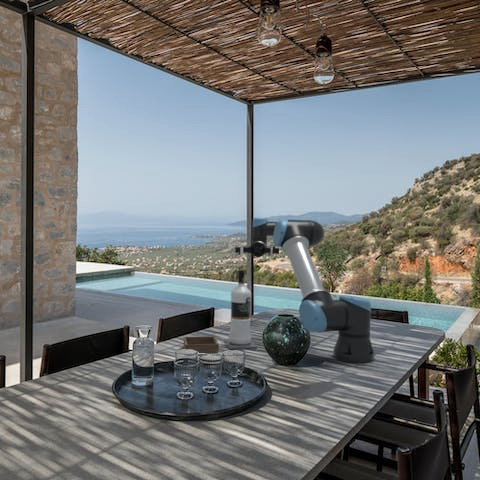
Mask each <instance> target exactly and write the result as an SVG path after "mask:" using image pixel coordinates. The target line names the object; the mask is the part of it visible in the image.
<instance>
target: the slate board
mask: <svg viewBox="0 0 480 480" xmlns="http://www.w3.org/2000/svg"><path fill="white" fill-rule="evenodd" d="M224 342H226V343H227V345H228V346H227V345H226V346H227V348H228V347H229V348H228V350H229V349H238V350H237V351H239V350H244V351H245V350H257V348H258V346H257V345H256V344H255V343H254V341H253V340H252V339H251V342H250V343H249V344H246V345H235V344H232V343H230V342H229V338H224ZM226 343H225V344H226Z"/></svg>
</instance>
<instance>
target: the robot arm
mask: <svg viewBox="0 0 480 480" xmlns="http://www.w3.org/2000/svg"><path fill="white" fill-rule="evenodd" d="M251 232H252V236H251V237H252V239H251V245H249V246H236V247H235V253H236V254H238V255H242V254H245V253H246V254H247V253H248V254H251V255H252V256H253V257H256V258H262V257H264V255H266V254H270V256H273V255H279V254H280V248H281V251H282V252H283V253H284V255H286V256H287V257H288V259H289V263H290V265H291V267H292V270H293V273H294V276H295V278H296V281H297V284H298V287H299V289H300V292H301V295H302V299H301V303H300V304H299V309H298V313H299V319H300V322H302V323H303V325H304V326H303V325H302V326H303V328H304V327H305V328H306V329H305V328H304V329H305V330H306V331H307V332H311V333H319V334H320V333H329V332H330V333H331V332H338V337H337V340H336V342H335V345H334V348H333V350H332V351H333V353H332V354H333V357H334V358H335V359H337V360H339V361H343V362H349V363H356V364H357V363H370V362H373V361H374V360H375V351H374V347H373V345H372V344H373V343H372V342H371V316H372V315H371V313H372V308H371V307H372V305H371V301H370V300H369V299H367V298H364V297H359V296H353V295H347V294H346V295H345V294H342V295H340V296H339V297H338V299H333V297H332V294H331V292H329V291H328V290H326V289H324V286H323V283H322V280H321V278H320V275H319V272H318V271H317V268H316V266H315V263H314V260H313V258H312V256H311V254H310V251H309V247H310V248H311V247H314V246H317V245H319V244H321V243H322V241H323V240H324V238H325V229H324V226H323V225H322V224H321V223H320V222H318V221H316V220H311V219H308V220H307V219H288V218H287V219H279V220H278V221H270V220H269V221H268V218H267V217H254V218H253V219H252V231H251ZM268 237H273V239H272V240H273V244H274V246H273V247H272V246H271V247H268V246H267V245H268ZM302 323H301V324H302Z"/></svg>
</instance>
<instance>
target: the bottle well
mask: <svg viewBox="0 0 480 480" xmlns="http://www.w3.org/2000/svg"><path fill="white" fill-rule="evenodd" d="M182 344H183V350H184V349H193V350H196V351H198V352H199V353H220V352H219V351H220V350H219V349H220V347H219V346H220V344H219V342H218V340H217V338H216V336H215V335H213V336H211V335H210V336H183V343H182Z"/></svg>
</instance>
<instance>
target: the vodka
mask: <svg viewBox="0 0 480 480" xmlns="http://www.w3.org/2000/svg"><path fill="white" fill-rule="evenodd" d="M245 274H246V273H245V270H243V269H240V270H238V275H237V277H238V279H237V282H238V283H237V286H236V287H235V288H233V289H232V290H231V292H230V298H231V299H230V331H229V335H228V339H229V342H230V343H232V344H235V345H246V344H249V343H250V342H251V340H252V335H251V320H252V319H251V307H252V306H251V304H252V303H251V302H252V293H251V290H250V289H249V288H247V287H246V286H245V276H246V275H245Z"/></svg>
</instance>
